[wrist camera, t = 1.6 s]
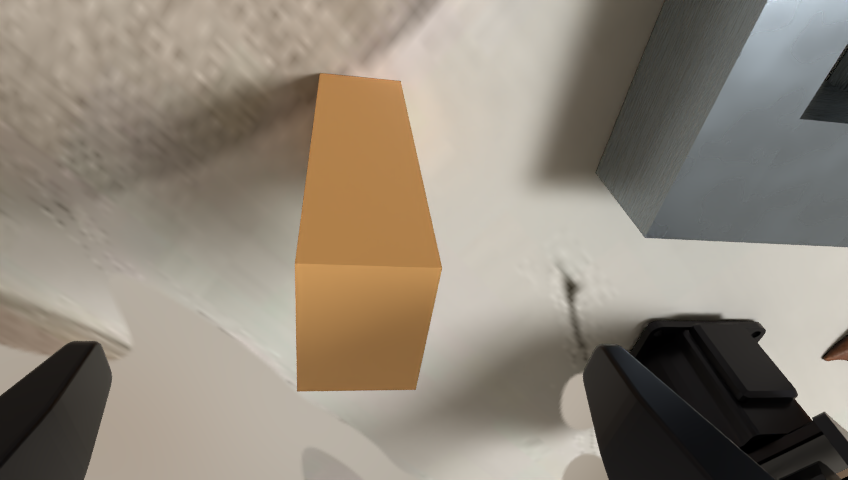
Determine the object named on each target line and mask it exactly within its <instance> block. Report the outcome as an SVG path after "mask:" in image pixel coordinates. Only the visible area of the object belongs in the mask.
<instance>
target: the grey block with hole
mask: <svg viewBox="0 0 848 480" xmlns="http://www.w3.org/2000/svg"><path fill="white" fill-rule="evenodd" d="M847 44H848V0H665V2H664V5H663V7H662V10H661V12H660V15H659V17H658V20H657V22H656V25H655V27H654V30H653V32H652V34H651V37H650V39H649V42H648V44H647V47H646V49H645V52H644V54H643V57H642V59H641V62H640V64H639V67H638V69H637V72H636V74H635V77H634V79H633V82H632V84H631V87H630V89H629V92H628V94H627V97H626V99H625V102H624V104H623V107H622V109H621V112H620V114H619V116H618V119H617V121H616V124H615V126H614V129H613V131H612V134H611V136H610V139H609V141H608V144H607V146H606V149H605V151H604V154H603V156H602V159H601V161H600V164H599V166H598V169H597V171H596V174H597V175H598V177H599V178H600V179H601V181H602V182H603V183H604V185H605V186H606V187H607V189H608V190H609V191H610V192H611V194H612V195H613V196H614V198H615V199H616V200H617V202H618V203H619V204H620V206H621V207H622V208H623V210H624V211H625V212H626V213H627V215H628V216H629V217H630V219H631V220H632V221H633V223H634V224H635V225H636V227H637V228H638V229H639V231H640V232H641V233H642V235H643V236H644V237H645V238H661V239H683V240H705V241H726V242H748V243H769V244H791V245H812V246H834V247H848V50H847V52H846V53H845V55H844V57H843V58H842V60H841V61H840V63H839V64H838V66H837V67H836V69H835V71H834V72H833V74H832V75H831V77H830V78H829V80H828V81H827V82H826V81H824V80H825V78H826V77H827V75H828V73H829V72H830V70H831V69H832V67H833V66H834V64H835V62H836V61H837V59H838V58H839V56H840V55H841V53H842V52H843V50H844V48H845V47H846V45H847Z"/></svg>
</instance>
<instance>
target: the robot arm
mask: <svg viewBox="0 0 848 480" xmlns="http://www.w3.org/2000/svg"><path fill="white" fill-rule="evenodd" d="M765 332H766V330H765V329H764V328H763V326H762V325H761V324H760V323H759V322H722V321H655V322H652V323H650V324H649V325H648V326H647V327H646V328H645V330H644V332H643V333H642V335H641V337H640V338H639V340H638V342H637V343H636V345H635V347H634V348H633V350H632V352H631V353H628V352H627V351H626V350H625V349H624V348H622V347H621V346H619V345H615V344H601V345H598V346H597V347H596V348H595V350H594V352H593V354H592V356H591V357H590V359H589V361H588V363H587V365H586V367H585V369H584V373H583V381H584V386H585V390H586V395H587V399H588V404H589V408H590V412H591V417H592V421H593V425H594V430H595V434H596V438H597V443H598V446H599V450H600V454H601V457H602V460H603V464H604V467H605V470H606V473H607V476H608V478H609V480H848V477H845V478H843V479H841V478H839V476H838V475H836V473H838V472H841V471H843V470H845V469H847V468H848V432H847V431H846V430H845V429H844V428H843V427H841V426H840V425H839V424H838V423H837V422H836V421H835V420H833V419H832V418H831V417H830V416H829V415H828V414H827V413H825V412H823V413H821V414H819V415H817V416H815V417H813V418H812V419H813V421H812V420H811V419H810V417H809V416H808V415H807V414H806V412H805V411H804V410H803V409H802V407H801V406H800V405H799V404H798V403H797V401H796V400H795V398H796V397H797V396H798V394H797V391H796V389H795V388H794V387H793V385H792V384H791V383H790V382H789V381H788V379H787V378H786V377H785V376H784V374H783V373H782V372H781V371H780V370H779V368H778V367H777V366H776V365H775V364H774V362H773V361H772V360H771V359H770V358H769V356H768V355H767V354H766V353H765V352H764V350H763V349H762V348H761V347H760V345H759V344H758V341H759V340H760V339H761V338H762V337H763V335H764V334H765ZM111 382H112V373H111V369H110V366H109V364H108V361H107V358H106V356H105V353H104V350H103V348H102V346H101V344H100V343H98V342H96V341H73V342H70V343H68V344H66V345H65V346H63V347H62V348H61V349H60V350H58V351H57V352H56V353H54V354H53V355H52V356H51V357H49V358H48V359H47V360H46V361H44V362H43V363H42V364H40V365H39V366H38V367H37V368H35V369H34V370H33V371H31V372H30V373H29V374H28V375H26V376H25V377H24V378H23V379H21V380H20V381H19V382H17V383H16V384H15V385H14V386H12V387H11V388H10V389H8V390H7V391H6V392H5V393H3V394H2V395H1V396H0V480H84V478H85V475H86V472H87V469H88V465H89V462H90V459H91V455H92V452H93V448H94V445H95V441H96V437H97V434H98V430H99V426H100V423H101V419H102V415H103V412H104V408H105V405H106V401H107V398H108V394H109V391H110V387H111Z"/></svg>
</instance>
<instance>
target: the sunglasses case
mask: <svg viewBox="0 0 848 480" xmlns="http://www.w3.org/2000/svg"><path fill="white" fill-rule="evenodd" d="M823 359H824V360H826V361H831V360H840V359H841V360H847V361H848V335H847V336H845V337H844V338H843V339H842V340H840V341H839V342H838V343H836V344H835V345H834V346H833V347H832V349H831V350H830V351H829V352H828V353H827V354H826V355H825V356H824V357H823Z"/></svg>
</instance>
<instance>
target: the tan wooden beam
mask: <svg viewBox="0 0 848 480" xmlns="http://www.w3.org/2000/svg"><path fill="white" fill-rule="evenodd" d="M441 270H442V266H441V261H440V257H439V252H438V248H437V243H436V239H435V234H434V230H433V225H432V221H431V216H430V212H429V207H428V203H427V198H426V194H425V189H424V185H423V180H422V176H421V171H420V167H419V162H418V158H417V153H416V149H415V144H414V140H413V135H412V131H411V126H410V122H409V117H408V113H407V108H406V104H405V99H404V95H403V90H402V86H401V81H394V80H384V79H374V78H363V77H353V76H343V75H333V74H323V73H320V76H319V84H318V92H317V99H316V107H315V115H314V122H313V130H312V137H311V145H310V153H309V160H308V168H307V176H306V183H305V191H304V198H303V206H302V214H301V221H300V229H299V236H298V244H297V252H296V259H295V295H296V350H297V391H355V390H416V386H417V381H418V376H419V372H420V367H421V363H422V358H423V353H424V349H425V344H426V340H427V335H428V330H429V326H430V321H431V316H432V312H433V307H434V303H435V298H436V293H437V289H438V284H439V280H440V275H441Z"/></svg>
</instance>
